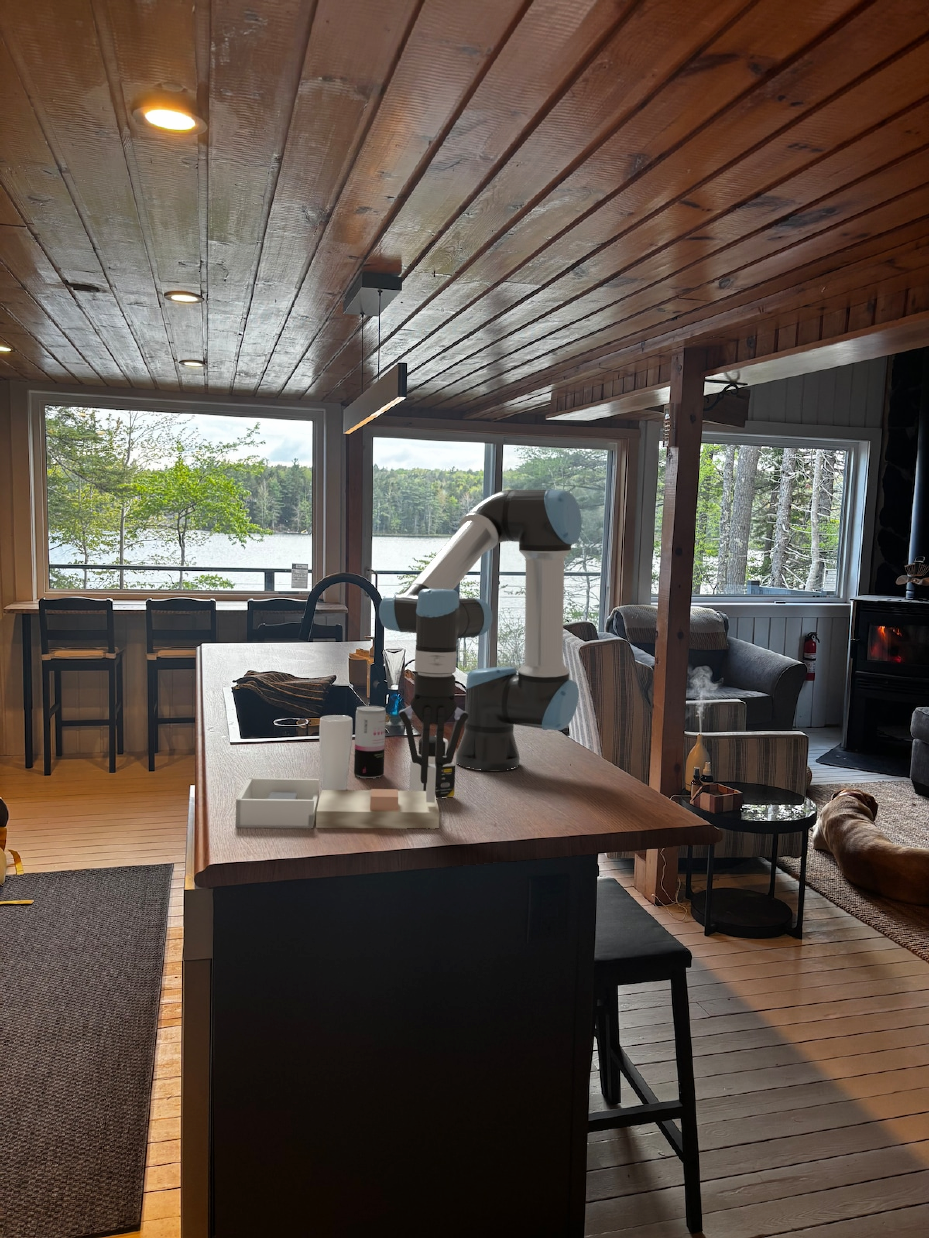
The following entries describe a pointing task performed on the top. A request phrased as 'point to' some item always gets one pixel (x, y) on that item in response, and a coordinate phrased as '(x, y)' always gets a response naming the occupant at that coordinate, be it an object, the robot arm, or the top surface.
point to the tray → (277, 803)
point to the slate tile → (283, 795)
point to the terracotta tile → (384, 799)
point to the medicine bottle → (448, 772)
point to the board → (375, 811)
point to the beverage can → (369, 741)
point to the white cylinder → (335, 751)
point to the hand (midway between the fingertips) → (430, 800)
